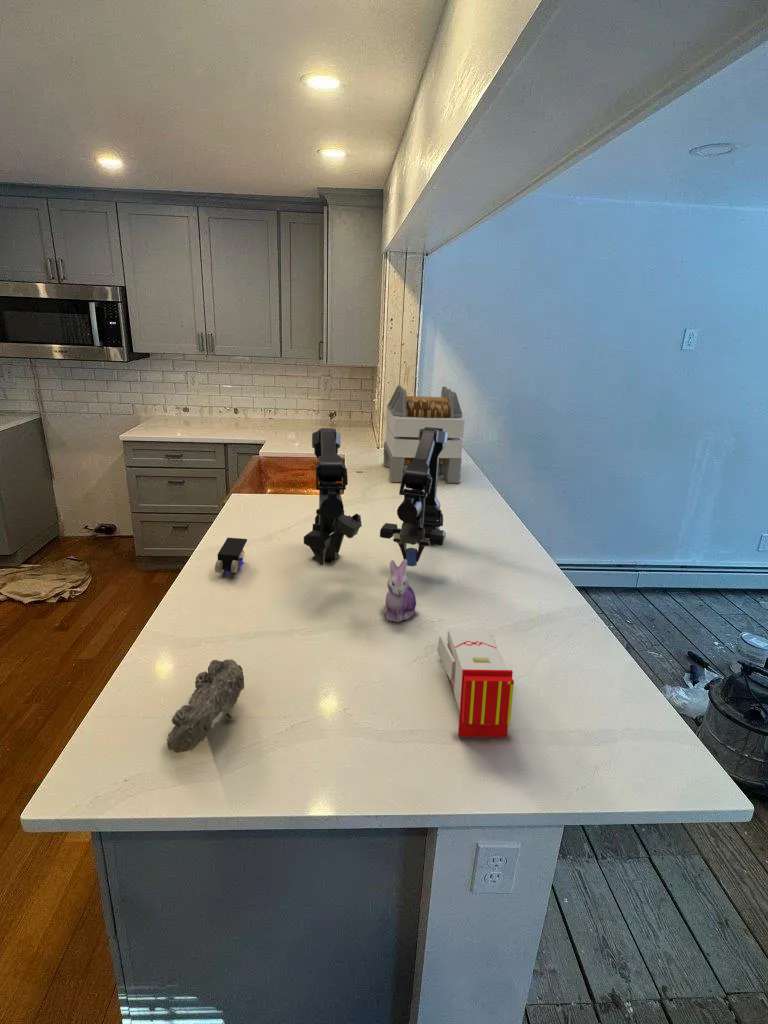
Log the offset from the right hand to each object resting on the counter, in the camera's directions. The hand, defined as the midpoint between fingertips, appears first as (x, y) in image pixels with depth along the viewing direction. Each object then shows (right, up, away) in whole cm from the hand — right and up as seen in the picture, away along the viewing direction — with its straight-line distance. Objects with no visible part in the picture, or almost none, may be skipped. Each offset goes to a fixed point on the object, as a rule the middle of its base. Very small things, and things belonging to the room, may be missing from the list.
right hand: (411, 560), depth 169 cm
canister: (0, -1, 0) cm, 1 cm away
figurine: (-4, -12, -22) cm, 25 cm away
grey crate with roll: (+9, +33, +106) cm, 111 cm away
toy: (+10, -23, -51) cm, 56 cm away
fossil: (-41, -25, -61) cm, 77 cm away
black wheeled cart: (-53, -3, -1) cm, 53 cm away
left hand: (-23, +2, -12) cm, 26 cm away
